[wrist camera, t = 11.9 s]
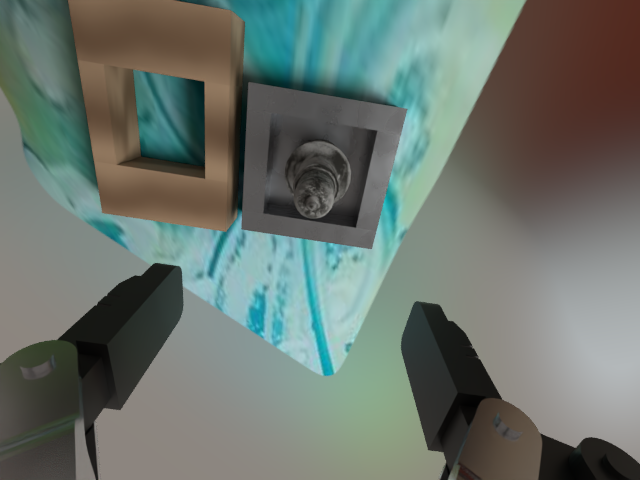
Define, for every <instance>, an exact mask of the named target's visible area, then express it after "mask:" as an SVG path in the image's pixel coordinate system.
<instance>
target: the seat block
mask: <svg viewBox="0 0 640 480" xmlns="http://www.w3.org/2000/svg"><path fill="white" fill-rule="evenodd" d="M406 112H407V109H405V108H400V107H394V106H388V105H382V104H377V103H371V102H365V101H359V100H353V99H347V98H341V97H335V96H329V95H324V94H318V93H312V92H306V91H300V90H294V89H288V88H282V87H277V86H271V85H265V84H259V83H252V82H248V101H247V122H246V143H245V164H244V186H243V207H242V228H241V229H243V230H249V231H256V232H263V233H269V234H276V235H282V236H289V237H295V238H302V239H309V240H315V241H322V242H328V243H335V244H342V245H348V246H355V247H361V248H368V249H372V246H373V242H374V238H375V234H376V230H377V226H378V222H379V218H380V214H381V210H382V207H383V203H384V199H385V195H386V191H387V187H388V183H389V179H390V175H391V171H392V167H393V163H394V159H395V155H396V151H397V148H398V144H399V140H400V136H401V132H402V128H403V124H404V120H405V116H406ZM315 139H324V140H327V141H330V142H332V143H333V144H335V145H336V146H337V147H338V148H339V149H340V150H341V151H342V152H343V154H344V155H345V156H346V158H347V160H348V162H349V164H350V170H351V181H350V184H349V187H348V190H347V191H346V193H345V194H344V195H343V197H342V198H340V199H339V200H338V201H337V202H335V203H333V206H332V208H331V209H330V211H329V212H328V213H327V214H326V215H325V216H323V217H321V218H316V219H310V218H307V217H305V216H303V215H301V214H300V213H299V212H298V210H297V208H296V207H295V203H294V196H293V195H292V194H291V193H290V191H289V189H288V188H287V185H286V181H285V166H286V163H287V160H288V158H289V157H290V155H291V153H292V152H293V151H294V150H295V149H297V148H298V147H299V146H301V145H303V144H305V143H306V142H308V141H311V140H315Z"/></svg>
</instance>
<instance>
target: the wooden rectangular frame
mask: <svg viewBox="0 0 640 480" xmlns="http://www.w3.org/2000/svg"><path fill="white" fill-rule="evenodd" d="M68 3H69V9H70V16H71V22H72V28H73V34H74V40H75V47H76V53H77V59H78V65H79V71H80V77H81V84H82V90H83V96H84V102H85V108H86V114H87V121H88V127H89V133H90V139H91V145H92V152H93V158H94V164H95V170H96V176H97V182H98V189H99V195H100V201H101V207H102V213H106V214H113V215H120V216H126V217H133V218H139V219H146V220H153V221H159V222H166V223H173V224H179V225H186V226H192V227H199V228H206V229H212V230H219V231H225V232H226V231H227V230H228V228H229V227H230V226H231V224H232V223H233V222H234V220H235V219H236V218H237V208H238V183H239V158H240V132H241V107H242V82H243V57H244V32H245V22H244V21H243V20H242V19H241V18H240V17H238V16H237V15H236V14H235V13H234V12H232V11H231V10H225V9H220V8H214V7H209V6H203V5H197V4H192V3H186V2H181V1H175V0H68ZM133 69H134V70H140V71H145V72H151V73H157V74H163V75H169V76H175V77H181V78H187V79H193V80H199V81H205V167H203V166H196V165H190V164H184V163H177V162H171V161H165V160H159V159H152V158H146V157H141V150H140V140H139V129H138V119H137V108H136V98H135V87H134V77H133Z"/></svg>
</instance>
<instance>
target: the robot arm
mask: <svg viewBox="0 0 640 480" xmlns="http://www.w3.org/2000/svg"><path fill="white" fill-rule="evenodd" d="M182 311H183V286H182V271H181V268H180V267H179V266H174V265H167V264H160V263H155V264H153V265H152V266H151V267H150V268H149V269H148V270H147V271H146V272H145V273H144V274H143V275H142V276H133V277H131V278H129V279H127V280H125V281H123V282H121V283H119V284H118V285H117V286H116V287H115V288H114V289H112V290H111V291H110V292H109V293H108V295H107V296H105V297H104V298H103V299H101V301H99V302H98V304H97V306H94V307H93V308H92V309H91V310H89V311H88V312H87V313H86V314H85V315H84V316H83V317H82V318H81V319H80V320H79V321H77V322H76V323H75V324H74V325H73V326H72V327H71V328H70V329H68V330H67V331H66V332H65V333H64V334H63V335H62V336H61V337H60V338H59V339H58V340H51V341H44V342H39V343H36V344H33V345H30V346H28V347H26V348H23V349H21V350H19V351H17V352H16V353H14V354H12V355H11V356H10V357H8V358H7V359H6V360H5V361H4V362H3V363H0V480H101V474H100V462H99V450H98V438H97V426H96V421H95V420H96V418H97V417H98V415H99V414H100V413H101V411H102V410H103V408H109V409H116V410H121V408H122V407H123V405H124V404H125V402H126V400H127V399H128V398H129V396H130V394H131V393H132V392H133V390H134V389H135V387H136V385H137V384H138V382H139V381H140V379H141V378H142V376H143V375H144V373H145V372H146V370H147V369H148V367H149V366H150V364H151V363H152V361H153V360H154V358H155V357H156V355H157V354H158V352H159V350H160V349H161V348H162V346H163V344H164V343H165V341H166V340H167V338H168V337H169V335H170V334H171V332H172V331H173V329H174V328H175V326H176V325H177V323H178V321H179V320H180V317H181V315H182ZM401 350H402V355H403V359H404V363H405V366H406V370H407V374H408V377H409V381H410V385H411V388H412V392H413V396H414V399H415V403H416V407H417V410H418V414H419V417H420V421H421V425H422V429H423V432H424V435H425V440H426V443H427V447H428V450H431V451H439V452H444V456H445V459H446V464H445V465H444V467H443V469H442V471H441V474H440V476H439V479H438V480H640V464H639V463H638V462H637V461H636V460H635V459H633V458H632V457H631V456H630V455H628V454H627V453H626V452H624V451H623V450H621V449H620V448H618V447H616V446H615V445H613V444H611V443H609V442H607V441H604V440H602V439H598V438H592V437H591V438H585V439H583V440H582V442H581V443H580V444H579V445H578V446H577V448H574V447H572V446H569V445H567V444H564V443H562V442H559V441H557V440H554V439H552V438H550V437H547V436H545V435H543V434H540V433H539V431H538V429H537V427H536V426H535V424H534V423H533V422H532V420H531V419H530V418H529V417H528V416H527V415H526V414H525V413H524V412H522V411H521V410H520V409H519V408H517V407H515V406H514V405H512V404H510V403H509V402H506V401H504V400H502V398H501V396H500V394H499V393H498V391H497V389H496V387H495V386H494V384H493V382H492V380H491V378H490V376H489V375H488V373H487V371H486V369H485V368H484V366H483V364H482V362H481V360H480V359H478V355H477V353H476V351H475V350H474V349H473V348H472V344H471V343H470V341H469V339H468V337H467V335H466V334H465V332H464V331H463V330H461V329H460V328H459V327H458V326H457V325H456V324H455V323H454V322H453V321H448V320H447V318H446V316H445V314H444V312H443V310H442V308H441V307H440V305H438V304H432V303H425V302H418V301H417V302H415V303H414V305H413V307H412V310H411V313H410V315H409V318H408V321H407V324H406V327H405V330H404V332H403V336H402V341H401Z"/></svg>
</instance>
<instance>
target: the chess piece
mask: <svg viewBox="0 0 640 480" xmlns="http://www.w3.org/2000/svg"><path fill="white" fill-rule="evenodd" d="M285 181H286V185H287V188H288V189H289V191H290V193H291V194H292V195H293V196H294V203H295V207H296V208H297V210H298V212H299V213H300V214H301V215H303V216H305V217H307V218H310V219H316V218H321V217H323V216H325V215H326V214H327V213H328V212H329V211H330V209H331V208H332V206H333V203H335V202H337V201H338V200H339V199H340V198H342V197H343V195H344V194H345V193H346V191H347V190H348V187H349V184H350V181H351V170H350V164H349V162H348V160H347V158H346V156H345V155H344V154H343V152H342V151H341V150H340V149H339V148H338V147H337V146H336V145H335V144H333V143H332V142H330V141H327V140H324V139H315V140H311V141H308V142H306V143H305V144H303V145H301V146H299V147H298V148H297V149H295V150H294V151H293V152H292V153H291V155H290V157H289V158H288V160H287V163H286V166H285Z"/></svg>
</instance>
